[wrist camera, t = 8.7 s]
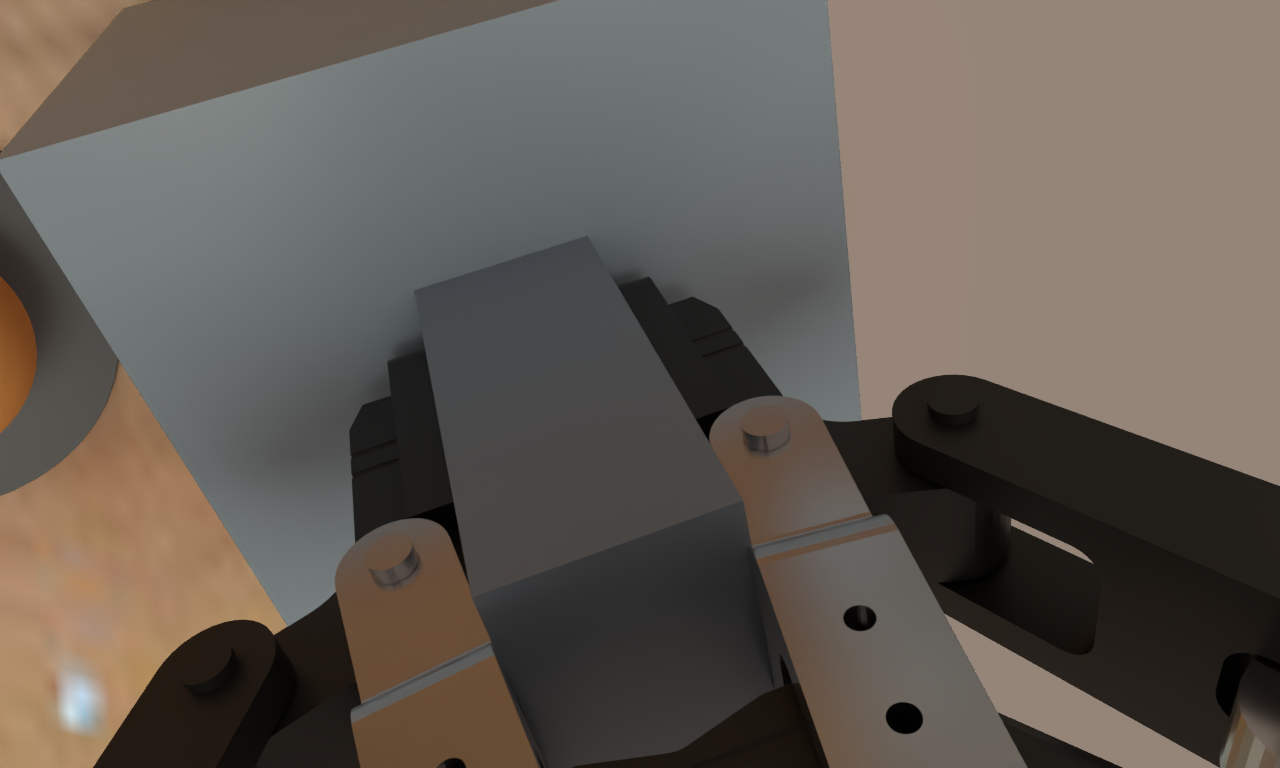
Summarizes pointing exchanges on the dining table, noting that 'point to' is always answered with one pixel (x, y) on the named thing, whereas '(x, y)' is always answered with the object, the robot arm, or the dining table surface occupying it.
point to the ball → (14, 355)
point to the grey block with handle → (470, 297)
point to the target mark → (49, 355)
